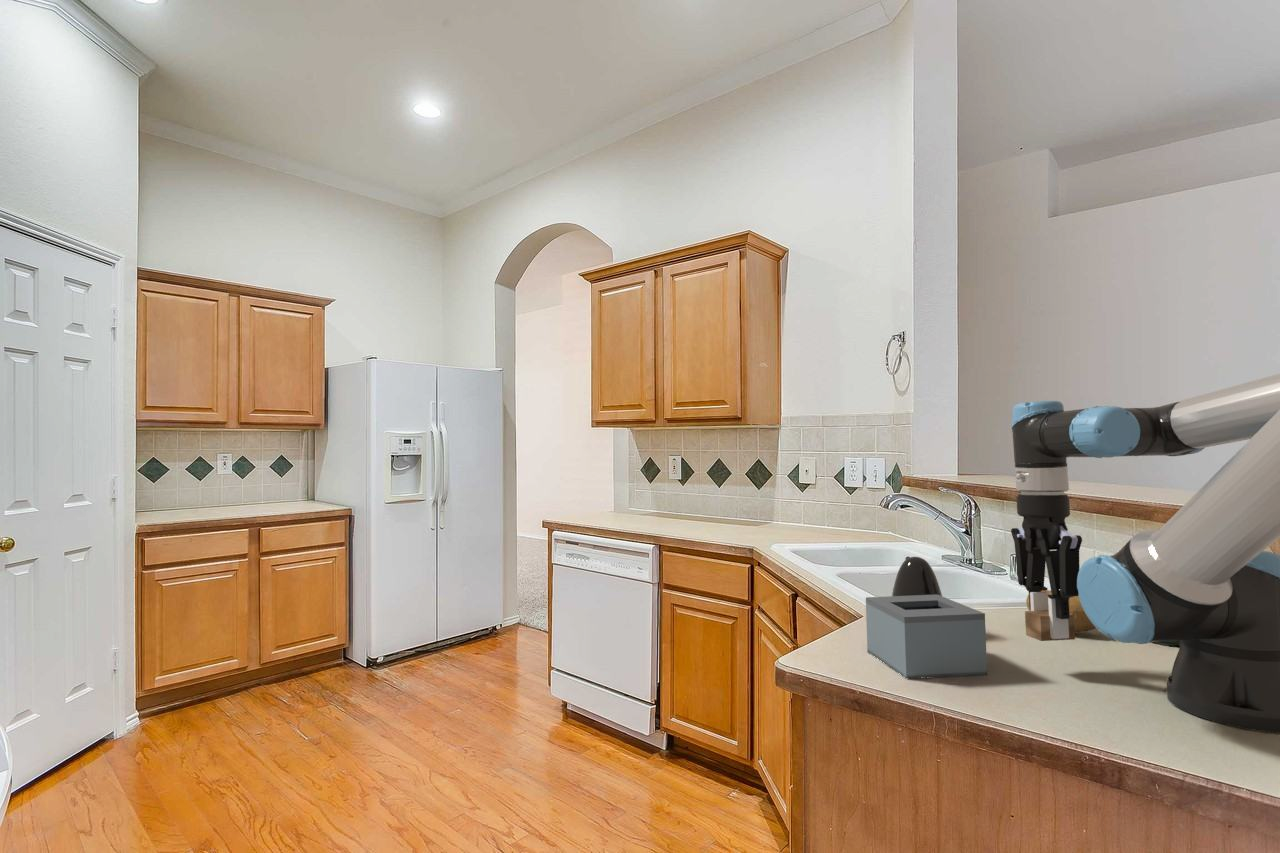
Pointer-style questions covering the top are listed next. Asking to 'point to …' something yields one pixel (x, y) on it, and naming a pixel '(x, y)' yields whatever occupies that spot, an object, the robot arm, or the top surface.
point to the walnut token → (1044, 625)
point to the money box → (926, 636)
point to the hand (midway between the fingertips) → (1050, 634)
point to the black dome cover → (916, 579)
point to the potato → (1075, 614)
